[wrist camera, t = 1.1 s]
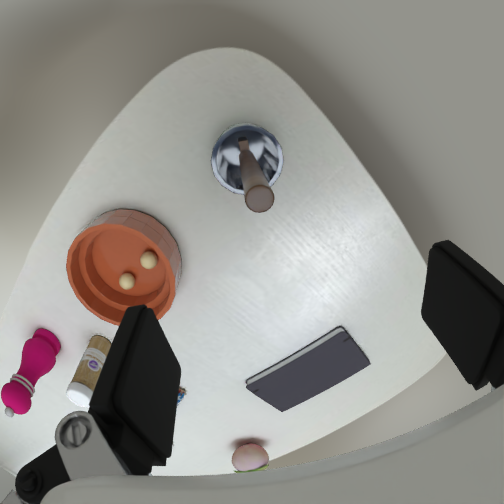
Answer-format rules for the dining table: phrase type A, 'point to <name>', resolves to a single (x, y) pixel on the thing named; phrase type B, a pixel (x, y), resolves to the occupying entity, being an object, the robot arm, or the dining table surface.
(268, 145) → the crock
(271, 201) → the brown long handled piece
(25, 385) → the pepper mill
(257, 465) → the decorative fruit
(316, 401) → the dining table surface
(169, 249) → the bowl
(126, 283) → the dough ball
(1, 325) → the dining table surface
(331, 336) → the notebook
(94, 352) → the sprinkles bottle
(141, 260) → the dough ball
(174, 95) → the dining table surface
